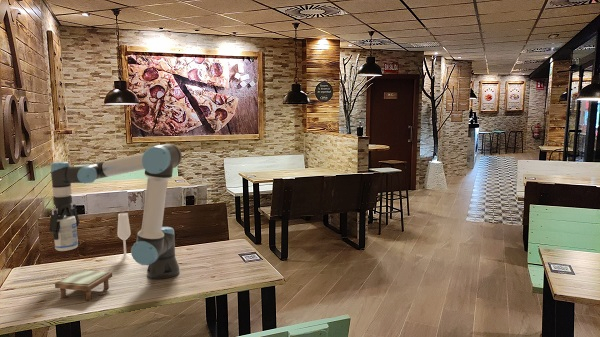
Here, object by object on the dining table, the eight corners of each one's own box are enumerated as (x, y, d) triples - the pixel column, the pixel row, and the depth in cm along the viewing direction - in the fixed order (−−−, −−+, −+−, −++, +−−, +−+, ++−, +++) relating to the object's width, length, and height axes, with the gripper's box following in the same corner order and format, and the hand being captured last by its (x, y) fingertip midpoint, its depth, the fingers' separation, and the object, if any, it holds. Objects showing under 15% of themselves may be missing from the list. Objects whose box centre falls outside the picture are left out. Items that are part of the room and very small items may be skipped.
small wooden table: (113, 287, 196) (112, 271, 195) (89, 302, 181) (88, 285, 180) (81, 284, 199) (80, 269, 198) (56, 299, 184) (54, 282, 183)
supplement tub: (79, 249, 202) (76, 218, 200) (56, 252, 196) (53, 221, 194) (76, 244, 210) (74, 214, 208) (54, 247, 204) (51, 217, 202)
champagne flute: (132, 254, 241) (130, 212, 238) (131, 258, 235) (129, 215, 231) (119, 255, 239) (116, 213, 236) (118, 259, 232) (115, 216, 229)
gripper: (71, 191, 211) (75, 235, 214) (36, 200, 190) (41, 249, 192) (85, 191, 210) (89, 236, 213) (51, 200, 188) (56, 250, 191)
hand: (66, 242), depth 203 cm, fingers closed on supplement tub, 9 cm apart
